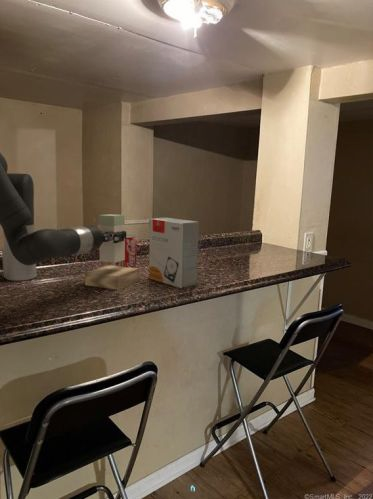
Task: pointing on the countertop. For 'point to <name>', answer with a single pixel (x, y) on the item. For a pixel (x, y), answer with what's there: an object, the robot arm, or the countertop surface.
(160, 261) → the hard drive box
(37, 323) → the countertop surface
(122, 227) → the carton
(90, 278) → the podium
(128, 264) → the soda can
